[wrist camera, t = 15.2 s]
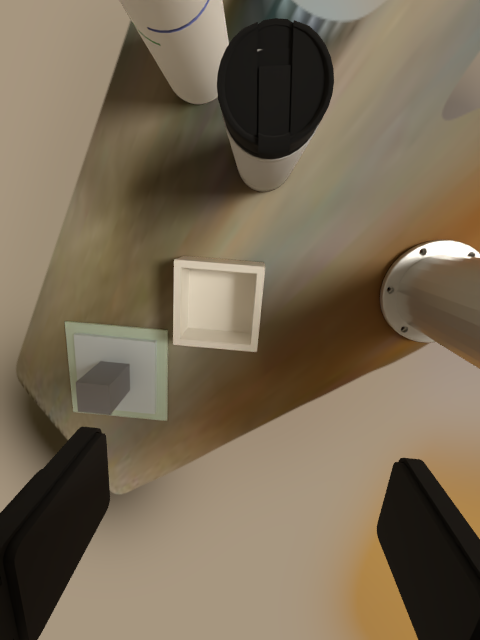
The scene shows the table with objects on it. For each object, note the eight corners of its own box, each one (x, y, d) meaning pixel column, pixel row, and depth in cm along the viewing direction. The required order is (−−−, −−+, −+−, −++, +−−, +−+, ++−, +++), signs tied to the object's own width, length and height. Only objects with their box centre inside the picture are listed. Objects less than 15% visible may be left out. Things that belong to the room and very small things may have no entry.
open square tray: (264, 262, 38) (265, 266, 33) (256, 337, 40) (256, 352, 36) (184, 255, 38) (174, 259, 33) (182, 331, 41) (173, 344, 36)
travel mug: (237, 195, 36) (216, 155, 16) (236, 131, 34) (211, 2, 15) (291, 194, 35) (332, 152, 16) (293, 130, 33) (343, -4, 14)
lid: (156, 340, 41) (138, 361, 34) (156, 411, 44) (139, 442, 38) (76, 332, 41) (43, 351, 35) (82, 403, 44) (52, 433, 38)
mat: (168, 329, 41) (167, 330, 40) (167, 419, 45) (166, 420, 44) (66, 320, 41) (64, 321, 41) (74, 410, 45) (73, 411, 45)
